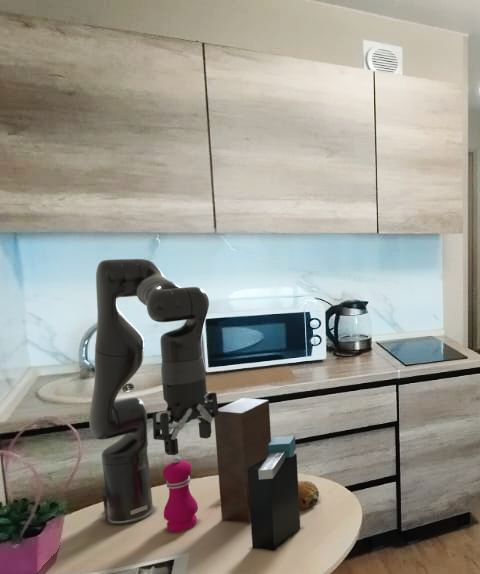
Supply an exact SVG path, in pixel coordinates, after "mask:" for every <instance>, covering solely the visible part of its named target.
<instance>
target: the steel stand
mask: <svg viewBox="0 0 480 574" xmlns="http://www.w3.org/2000/svg"><path fill="white" fill-rule="evenodd" d="M267 458H268V457H266V458H264V459H263V460H261V461H260V462H258V463H256V464H255V465H253V466H251V467H250V468H248V469H247V472H248V487H249V502H250V517H251V522H250V529H251V545H252V547H251V548H252V549H255V550H263V551H276V550H277V549H279V547H281V546H282V545H283V544H284V543H285V542H286V541H288V540H289V539H290V538H291V537H292V536H293V535H295V534H296V533H297V532H298V531H299V530H300V529H301V516H300V515H301V514H300V510H299V492H298V481H299V475H298V455H297V452H296V453H295V452H294V453H293V454H292V456H291V458H286V459H285V460H284V462H283V463H282V465H281V467H280V468H279V470H278V471H277V473H276V474H275V476H274V477H273V478H272V479H260V480H259V473H258V470H259V469H260V468H261V466H262V465H263V463H264V462H265V461H266V459H267Z"/></svg>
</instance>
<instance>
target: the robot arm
mask: <svg viewBox="0 0 480 574" xmlns="http://www.w3.org/2000/svg"><path fill="white" fill-rule="evenodd" d="M95 288H96V308H97V319H96V320H97V322H96V323H97V324H96V334H95V335H96V336H95V343H94V344H95V345H94V383H93V384H94V385H93V392H92V397H91V403H90V408H89V409H90V410H89V419H88V420H89V422H88V423H89V429H90V433H91V434H92V436H93V437H94V438H95V439H97V440H108V439H113V438H118V437H120V436H122V437H121V438H119V440H117V441H116V442H114V443H112V444H111V445H109V446H107V447H106V448H105V449H104V450H103V451H102V452H101V462H102V472H103V479H104V485H103V486H102V488H101V491H102V501H103V510H104V519H105V520H106V521H107V522H108V524H111V525H120V526H121V525H128V524H131V523H135V522H138V521H141V520H143V519H145V518H147V517H149V516H150V515H151V514H152V513H153V512H154V510H155V509H154V505H153V504H154V503H153V495H152V494H153V493H152V492H153V491H152V483H151V473H150V463H149V451H148V445H149V440H148V439H149V438H148V413H147V409H146V405H145V403H144V402H143V400H142V399H140V398H138V397H129V398H124V399H121V400H116V399H117V397H118V396H119V393H120V392H121V390H122V389H123V388H124V387H125V386H126V384H127V383H128V382H129V381H130V380H131V379H133V377H134V376H135V374H136V373H138V371H139V369H140V368H141V367H142V364H143V361H144V351H145V339H144V336H143V335H142V334H141V332H140V331H139V330H138V329H137V328H136V327H135V325H134V324H132V323H131V322H130V320H128V319H127V318H126V317H125V315H124V314H123V313H122V311H121V310H120V309H119V307H118V305H117V300H118V299H119V298H129V297H130V298H131V297H137V299H138V300H139V302H140V303H141V304H143V305H144V306H146V311H147V314H148V316H149V317H150V319H151V320H152V321H154V322H156V323H157V322H158V323H171V322H172V323H173V322H180V321H185V322H184V323H183V325H182V326H180V327H178V328H176V329H173V330H170V331H167V332H165V333H163V334H162V335H161V336H160V339H159V340H160V353H161V368H160V369H161V371H160V372H161V373H160V374H161V381H162V382H161V384H162V392H163V393H162V396H163V400H164V401H165V403H166V404H167V406H166V410H164V411H155V412H154V413H153V414H152V435H153V437H152V438H153V440H156V441H157V440H158V441H163V444H164V445H163V446H164V453H165V454H166V455H168V456H177V455H178V454H179V444H178V443H179V440H178V438H177V437H178V435H179V433H180V431H181V430H183V429H184V427H185V425H186V424H188V423H190V422H191V421H192V420H193V421H194V420H197V421H199V422H198V435H199V438H200V439H206V440H207V439H209V438H211V436H212V422H213V419H214V417H217V416H218V414H219V412H218V409H219V406H218V405H219V404H218V396H217V393H216V392H211V391H208V389H207V377H206V366H205V365H206V364H205V360H204V355H203V341H202V340H203V332H204V327H205V323H206V320H207V317H208V313H209V308H210V297H209V296H208V293H207V292H206V291H205V290H204V289H203V288H201V287H199V286H188V287H181V286H180V285H178V284H177V283H175V282H173V281H171V280H169V279H168V278H167V277H166V276H165V275H164V273H163V272H162V271H161V269H160V268H159V267H158V266H157V265H156V264H155V263H154V262H153V261H151V260H148V259H145V258H122V259H121V258H120V259H117V258H115V259H105V260H102V261H100V262H99V263H98V264H97V268H96V272H95Z"/></svg>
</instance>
